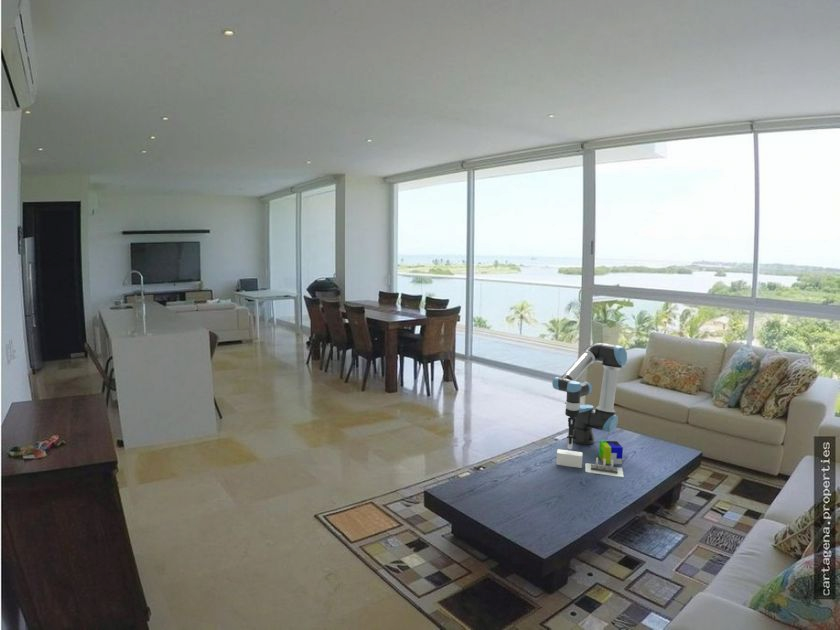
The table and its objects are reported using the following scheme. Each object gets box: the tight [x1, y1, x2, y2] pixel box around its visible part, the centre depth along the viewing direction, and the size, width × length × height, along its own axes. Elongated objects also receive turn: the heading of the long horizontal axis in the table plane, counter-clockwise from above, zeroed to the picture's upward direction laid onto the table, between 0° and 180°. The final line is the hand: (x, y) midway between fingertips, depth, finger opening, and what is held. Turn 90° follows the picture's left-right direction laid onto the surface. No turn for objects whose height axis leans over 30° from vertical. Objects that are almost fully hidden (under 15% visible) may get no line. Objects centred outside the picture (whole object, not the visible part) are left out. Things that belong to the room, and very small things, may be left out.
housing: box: [556, 448, 583, 469], centre depth 301 cm, size 14×6×7 cm, turn 73°
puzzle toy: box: [598, 440, 624, 465], centre depth 308 cm, size 10×10×10 cm
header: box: [584, 457, 625, 479], centre depth 294 cm, size 12×20×7 cm, turn 73°
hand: (569, 444), depth 300 cm, fingers open, 13 cm apart
